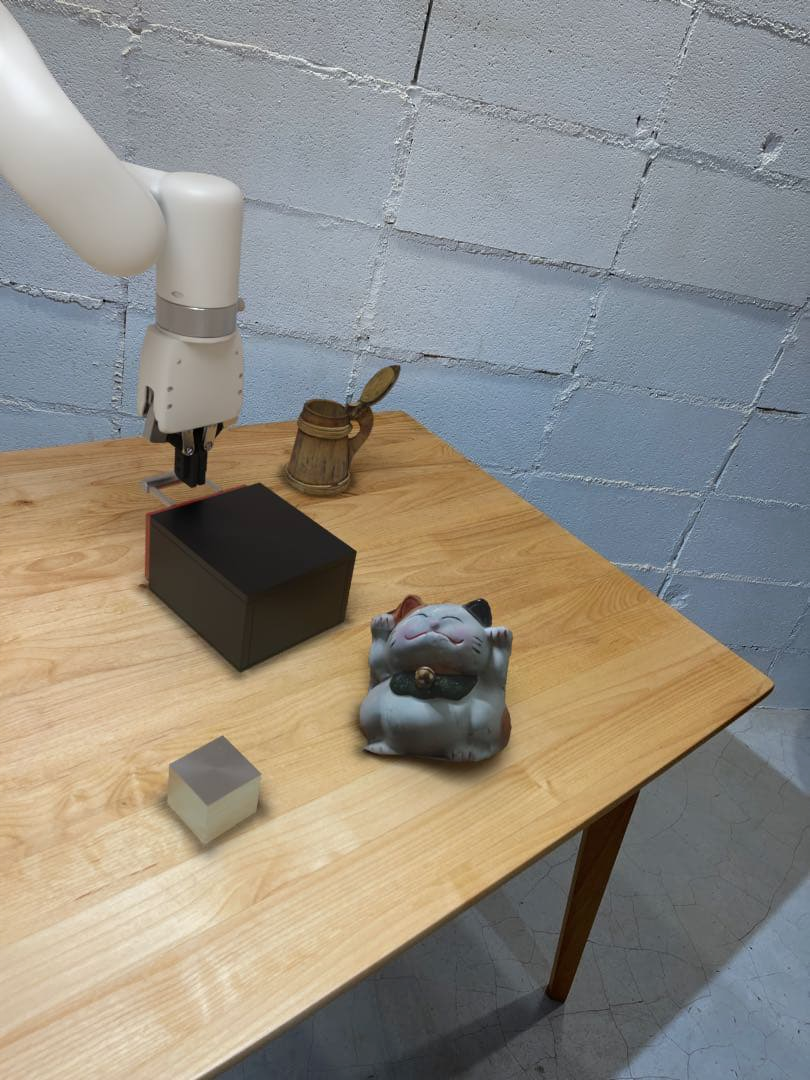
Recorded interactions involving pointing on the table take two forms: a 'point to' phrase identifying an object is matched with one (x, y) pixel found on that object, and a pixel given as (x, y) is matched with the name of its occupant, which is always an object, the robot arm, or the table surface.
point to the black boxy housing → (249, 573)
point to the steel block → (213, 788)
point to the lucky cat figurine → (437, 682)
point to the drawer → (168, 500)
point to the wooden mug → (334, 437)
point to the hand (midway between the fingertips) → (190, 480)
